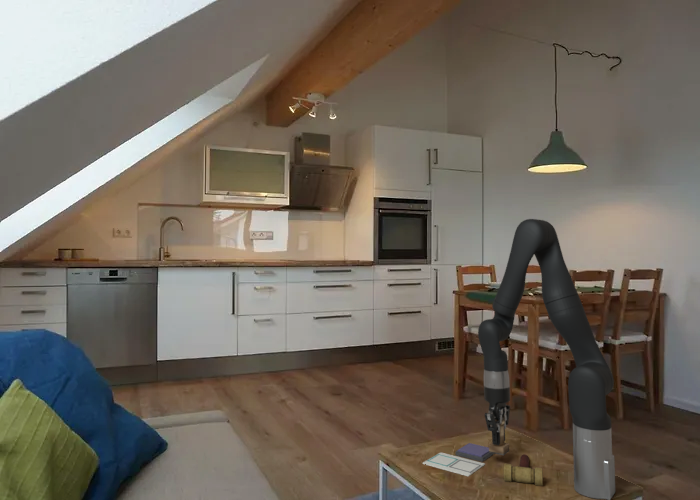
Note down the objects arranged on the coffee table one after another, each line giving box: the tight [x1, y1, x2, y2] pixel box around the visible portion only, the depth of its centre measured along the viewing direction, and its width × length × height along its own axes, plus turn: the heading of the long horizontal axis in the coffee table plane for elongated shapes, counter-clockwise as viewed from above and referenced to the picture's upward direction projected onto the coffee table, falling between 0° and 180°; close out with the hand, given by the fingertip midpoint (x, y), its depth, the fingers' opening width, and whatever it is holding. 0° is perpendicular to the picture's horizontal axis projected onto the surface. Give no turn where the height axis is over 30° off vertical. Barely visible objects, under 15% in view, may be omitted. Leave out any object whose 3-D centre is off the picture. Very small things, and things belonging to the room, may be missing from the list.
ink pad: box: [455, 442, 494, 463], centre depth 159 cm, size 9×9×2 cm
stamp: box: [488, 420, 510, 456], centre depth 152 cm, size 4×4×9 cm
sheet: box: [422, 451, 486, 477], centre depth 151 cm, size 15×11×1 cm
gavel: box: [503, 454, 544, 487], centre depth 146 cm, size 21×5×10 cm
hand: (498, 442), depth 152 cm, fingers closed on stamp, 3 cm apart
